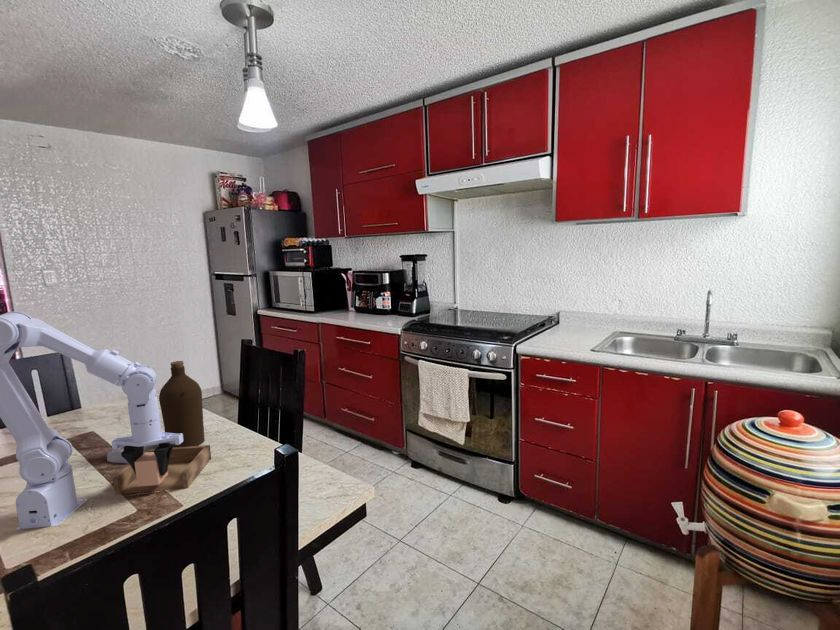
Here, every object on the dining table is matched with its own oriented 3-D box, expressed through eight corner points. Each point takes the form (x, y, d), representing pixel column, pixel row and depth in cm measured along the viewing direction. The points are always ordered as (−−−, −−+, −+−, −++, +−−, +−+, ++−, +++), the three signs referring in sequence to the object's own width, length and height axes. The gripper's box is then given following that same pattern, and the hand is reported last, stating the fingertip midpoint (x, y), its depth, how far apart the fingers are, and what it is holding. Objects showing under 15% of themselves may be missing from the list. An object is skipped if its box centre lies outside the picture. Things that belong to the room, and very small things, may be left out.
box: (188, 490, 96) (186, 472, 96) (115, 496, 95) (112, 478, 94) (211, 460, 110) (209, 445, 110) (148, 465, 109) (146, 449, 108)
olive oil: (215, 440, 122) (206, 359, 119) (182, 456, 113) (171, 369, 109) (190, 434, 127) (181, 356, 123) (157, 450, 117) (146, 365, 113)
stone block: (104, 471, 110) (134, 466, 108) (99, 454, 110) (129, 449, 108) (142, 451, 122) (169, 447, 120) (137, 436, 122) (165, 431, 119)
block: (158, 484, 94) (155, 460, 94) (137, 486, 94) (134, 462, 93) (168, 474, 99) (165, 451, 98) (148, 476, 98) (145, 452, 98)
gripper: (186, 410, 99) (192, 463, 101) (121, 414, 97) (129, 468, 99) (172, 422, 92) (179, 478, 94) (102, 427, 90) (111, 484, 92)
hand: (152, 474), depth 96 cm, fingers closed on block, 4 cm apart
